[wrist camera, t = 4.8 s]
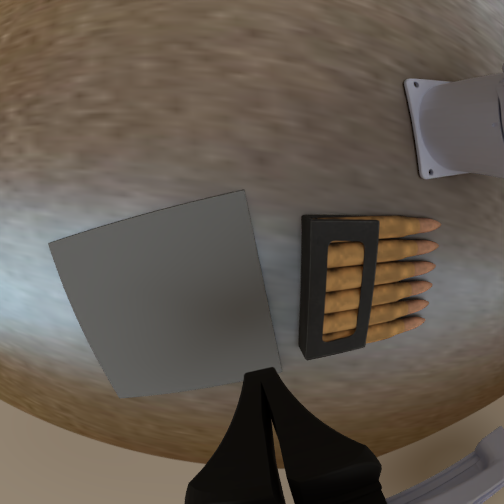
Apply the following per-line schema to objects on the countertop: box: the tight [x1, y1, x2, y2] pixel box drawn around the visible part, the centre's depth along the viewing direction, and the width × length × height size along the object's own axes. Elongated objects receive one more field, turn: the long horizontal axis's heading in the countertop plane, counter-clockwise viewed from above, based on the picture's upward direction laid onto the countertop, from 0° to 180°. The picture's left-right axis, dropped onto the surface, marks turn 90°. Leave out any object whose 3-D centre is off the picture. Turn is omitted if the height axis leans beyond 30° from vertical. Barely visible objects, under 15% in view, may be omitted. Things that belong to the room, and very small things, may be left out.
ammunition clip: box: [299, 215, 441, 360], centre depth 22 cm, size 11×2×12 cm
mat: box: [48, 190, 282, 398], centre depth 21 cm, size 15×15×1 cm
